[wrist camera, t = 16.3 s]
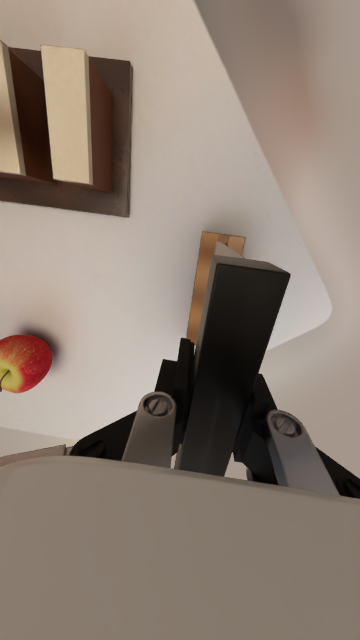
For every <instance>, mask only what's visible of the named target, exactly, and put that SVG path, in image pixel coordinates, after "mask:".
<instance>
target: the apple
mask: <svg viewBox="0 0 360 640" xmlns="http://www.w3.org/2000/svg"><path fill="white" fill-rule="evenodd" d="M51 364H52V352H51V350H50V348H49V346H48V345H47V343H46V342H45V341H44V340H42V339H40V338H38V337H35V336H31V335H13V336H9V337H6V338H4V339H2V340H0V392H1V391H2V388H3V389H5V390H7V391H9V392H13V393H22V392H25V391H28V390H29V389H31V388H33V387H34V386H36V385H37V384H38V383H39V382H40V381H41V380H42V379H43V378H44V377H45V376H46V374H47V373H48V371H49V369H50V367H51Z"/></svg>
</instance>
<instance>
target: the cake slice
mask: <svg viewBox="0 0 360 640" xmlns="http://www.w3.org/2000/svg"><path fill="white" fill-rule="evenodd" d="M41 55H42V65H43V76H44V86H45V97H46V107H47V117H48V128H49V138H50V149H51V159H52V169H53V179H56V180H59V181H62V182H65V183H68V184H71V185H74V186H77V187H80V188H83V189H89V190H97V191H105V192H112V93H111V91H110V90H109V88H108V86H107V85H106V83H105V82H104V80H103V79H102V77H101V76H100V74H99V73H98V71H97V69H96V68H95V66H94V65H93V63H92V62H91V60H90V59H89V57H88V55H87V54H86V52H85V51H84V50H82V49H73V48H64V47H56V46H47V45H41Z"/></svg>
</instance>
